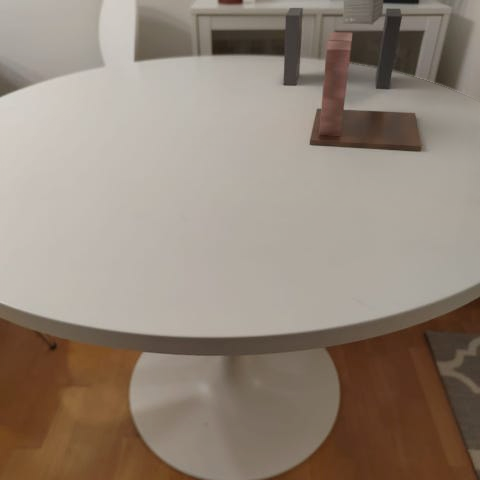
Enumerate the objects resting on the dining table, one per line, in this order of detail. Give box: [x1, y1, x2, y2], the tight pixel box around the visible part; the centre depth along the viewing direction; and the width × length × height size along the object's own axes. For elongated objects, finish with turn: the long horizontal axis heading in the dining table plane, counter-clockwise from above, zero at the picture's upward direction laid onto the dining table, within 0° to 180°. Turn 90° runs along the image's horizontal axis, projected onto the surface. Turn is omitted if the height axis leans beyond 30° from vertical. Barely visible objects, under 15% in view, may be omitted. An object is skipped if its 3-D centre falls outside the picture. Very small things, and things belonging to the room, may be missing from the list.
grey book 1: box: [283, 7, 304, 86], centre depth 109 cm, size 3×8×15 cm, turn 168°
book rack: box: [309, 31, 422, 152], centre depth 85 cm, size 20×16×16 cm
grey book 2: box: [375, 8, 403, 90], centre depth 106 cm, size 3×8×15 cm, turn 168°
